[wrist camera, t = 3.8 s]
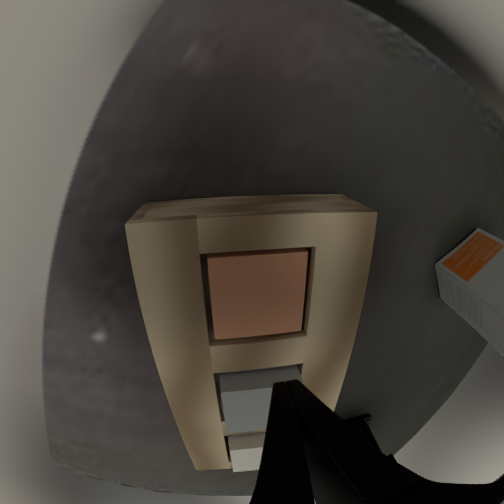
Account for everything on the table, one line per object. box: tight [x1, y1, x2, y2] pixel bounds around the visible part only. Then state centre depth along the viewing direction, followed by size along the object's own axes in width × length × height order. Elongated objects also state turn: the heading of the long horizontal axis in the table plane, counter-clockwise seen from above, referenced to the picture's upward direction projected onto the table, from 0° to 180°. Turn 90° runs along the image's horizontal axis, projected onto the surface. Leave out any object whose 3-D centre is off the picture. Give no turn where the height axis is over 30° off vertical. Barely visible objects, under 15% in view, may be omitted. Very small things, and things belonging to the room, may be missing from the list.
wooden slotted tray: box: [125, 194, 377, 470], centre depth 18 cm, size 11×22×4 cm, turn 0°
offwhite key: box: [228, 431, 266, 472], centre depth 18 cm, size 4×4×2 cm
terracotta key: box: [207, 247, 308, 339], centre depth 14 cm, size 4×4×2 cm
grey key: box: [219, 364, 303, 433], centre depth 16 cm, size 4×4×2 cm
